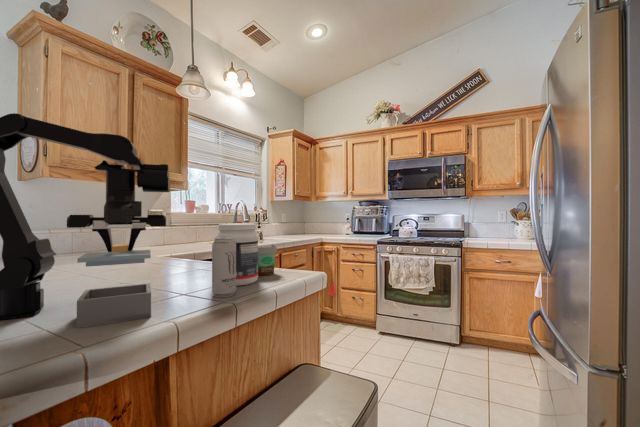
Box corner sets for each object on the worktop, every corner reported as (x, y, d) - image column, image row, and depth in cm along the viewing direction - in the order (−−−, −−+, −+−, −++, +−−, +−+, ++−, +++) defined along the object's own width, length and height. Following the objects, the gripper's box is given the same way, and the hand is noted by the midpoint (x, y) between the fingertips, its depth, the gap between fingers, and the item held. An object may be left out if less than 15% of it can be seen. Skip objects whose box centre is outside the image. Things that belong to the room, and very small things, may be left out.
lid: (77, 268, 56) (77, 252, 56) (89, 258, 68) (89, 245, 69) (150, 263, 62) (150, 248, 62) (149, 255, 75) (149, 243, 75)
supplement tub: (206, 283, 92) (206, 223, 92) (239, 276, 102) (239, 223, 103) (234, 289, 85) (234, 224, 85) (266, 281, 95) (266, 223, 95)
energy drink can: (226, 298, 75) (226, 239, 75) (206, 296, 77) (207, 238, 77) (240, 293, 81) (240, 237, 81) (222, 291, 83) (222, 236, 83)
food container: (258, 278, 99) (258, 248, 99) (246, 276, 103) (246, 247, 103) (284, 273, 109) (284, 245, 109) (272, 271, 112) (272, 244, 112)
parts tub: (76, 328, 55) (76, 301, 55) (85, 313, 64) (85, 289, 64) (151, 317, 61) (151, 292, 62) (150, 304, 70) (150, 283, 70)
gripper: (60, 186, 58) (59, 266, 58) (167, 190, 68) (167, 259, 68) (72, 190, 68) (72, 259, 68) (164, 193, 77) (164, 253, 77)
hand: (120, 257), depth 70 cm, fingers closed on lid, 3 cm apart
